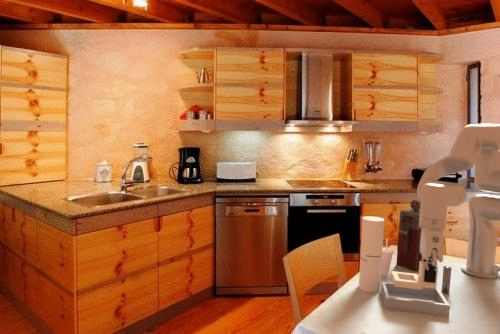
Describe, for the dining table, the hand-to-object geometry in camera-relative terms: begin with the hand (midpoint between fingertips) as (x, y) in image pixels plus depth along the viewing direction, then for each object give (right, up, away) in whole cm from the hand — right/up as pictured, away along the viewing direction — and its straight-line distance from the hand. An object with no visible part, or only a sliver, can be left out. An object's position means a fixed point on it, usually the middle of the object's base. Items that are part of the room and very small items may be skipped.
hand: (427, 278), depth 117 cm
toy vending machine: (+10, -6, +35) cm, 36 cm away
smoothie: (-5, -6, +27) cm, 28 cm away
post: (+11, -8, +11) cm, 18 cm away
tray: (-4, -9, +2) cm, 10 cm away
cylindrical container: (-15, -7, +13) cm, 21 cm away
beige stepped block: (-4, -2, +1) cm, 5 cm away
